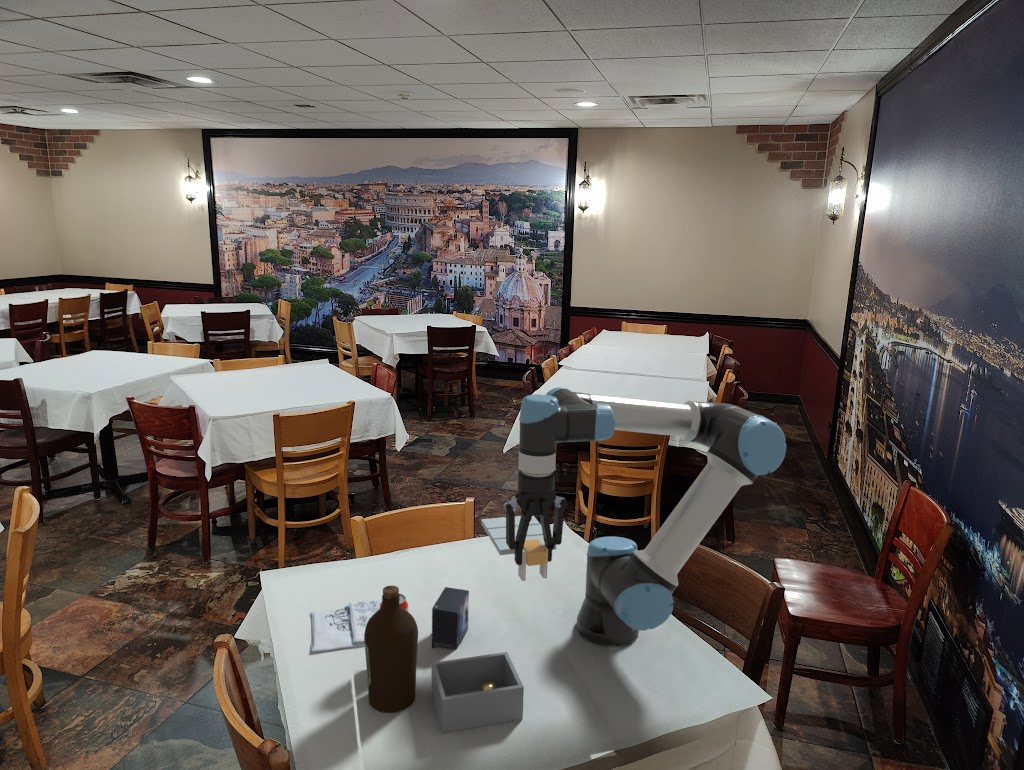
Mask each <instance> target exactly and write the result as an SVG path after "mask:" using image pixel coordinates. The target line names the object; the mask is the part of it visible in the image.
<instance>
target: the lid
mask: <svg viewBox="0 0 1024 770" xmlns="http://www.w3.org/2000/svg"><path fill="white" fill-rule="evenodd" d="M520 518H521V515H515V539H516V535H517V531H518V527H519V522H520ZM480 524H481V526H482V527H483V529H484V531H485V533H486V534H487V536H488V537H489V539H490V541H491V543H492V544H493V546H494V548H495V549H496V551H497V553H498V554H499V556H505V555H515V550H514V549H512V550H511V549H510V548H509V547H508V545H507V543H506V516H505V517H504V516H503V517H502V516H501V517H492V518H482V519H481V522H480ZM542 544H544V545H545V543H544V538H543V532H542V526H541V522H539V521H538V519H537V518H536V517H535V515H534V516H532V519H531V521H530V523H529V527H528V531H527V535H526V539H525V544H524V549H525V550H526V566H528V567H530V566H531V567H532V566H540V565H542V564H546V561H547V551H546V550H545V548H544V547H543V546H542ZM554 550H557V545H555V546H554V549H553V550H552V551H554Z"/></svg>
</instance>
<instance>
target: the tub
mask: <svg viewBox="0 0 1024 770" xmlns="http://www.w3.org/2000/svg"><path fill="white" fill-rule="evenodd" d="M486 680H491V681H493V682H495V684H496V689H491V690H485V691H481V683H482V682H483V681H486ZM524 691H525V689H524V684H523V683H522V680H521V678H520V676H519V674H518V672H517V670H516V668H515V666H514V663H513V661H512V659H511V657H510V654H509V653H508V651H504V652H496V653H491V654H483V655H477V656H476V655H475V656H471V657H469V656H468V657H464V658H463V657H462V658H454V659H449V660H441V661H436V662H431V698H432V701H433V704H434V705H433V706H434V709H435V712H436V715H437V719H438V723H439V727H440V731H441V734H449V733H455V732H460V731H467V730H471V729H477V728H482V727H488V726H496V725H499V724H506V723H511V722H512V723H513V722H516V721H517V722H518V721H523V718H524V694H525V692H524Z"/></svg>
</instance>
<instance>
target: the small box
mask: <svg viewBox="0 0 1024 770" xmlns="http://www.w3.org/2000/svg"><path fill="white" fill-rule="evenodd" d="M469 594H470V591H469V589H468V590H467V589H462V588H461V589H460V588H454V587H448V586H444V588H443V590H442V592H441V593H440V595H439V596H438V598H437V599H436V601H435V603H434V605H433V606H432V608H431V646H430V647H431V649H438V648H440V649H447V650H455V651H456V650H457V649H458V648H459V646H460V645H461V643H462V642H463V640H464V638H465V636H466V634H467V632H468V630H469V608H470V607H469V606H470V605H469V603H470V601H469V600H470V599H469V598H470V595H469Z"/></svg>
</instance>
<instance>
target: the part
mask: <svg viewBox="0 0 1024 770" xmlns="http://www.w3.org/2000/svg"><path fill="white" fill-rule="evenodd" d="M491 689H496V684H495V682H493V681H491V680H486V681H483V682H482V683H481V691H485V690H491Z"/></svg>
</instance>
